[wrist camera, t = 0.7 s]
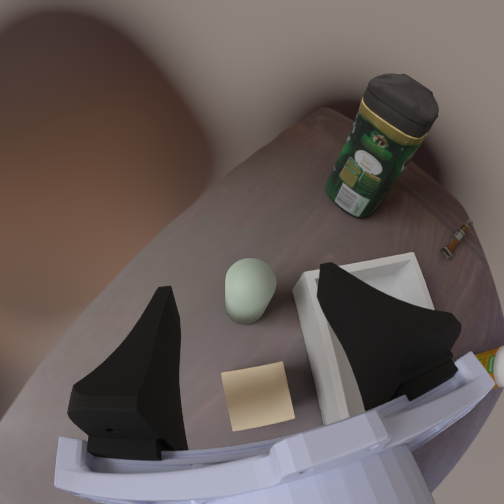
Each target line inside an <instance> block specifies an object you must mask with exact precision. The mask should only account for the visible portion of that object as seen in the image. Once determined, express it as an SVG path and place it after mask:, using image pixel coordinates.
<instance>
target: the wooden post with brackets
mask: <svg viewBox="0 0 504 504" xmlns="http://www.w3.org/2000/svg"><path fill="white" fill-rule="evenodd" d="M472 224H473V223H472V219H468V220H467V221H466V223H465V224H464V225H461V226H460V227H459V228H458V229H457V230H458V231H456V232H455V233H454V235H453V236H452V239H451V240H452V242H451V243H450V244H449V245H448V246H447V247H445V248H443V249H441V250H442V252H443V253H444V254H445V255H446V257H447V259H449V258H451V257H452V256H453V255H452V251H453V249H454V248H455V246H456V244H457V243H458V242H459V241H460V240H461V238H462V237H463V236H464V235H465V232H466V231H467V230H468V229H469V228H470V226H471V225H472Z"/></svg>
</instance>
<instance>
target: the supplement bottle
mask: <svg viewBox="0 0 504 504" xmlns="http://www.w3.org/2000/svg"><path fill="white" fill-rule="evenodd" d="M475 356H476V358H477V359H478V360H479V361H480V363H481V364H482V365H483V367H484V368H485V369H486V371H487V372H488V373H489V375H490V376H491V378H492V379H493V380H494V382H495V386H494V387H493V388H492V389H497V388H502V387H504V346H500V347H497V348H494V349H491V350H488V351H485V352H482V353H479V354H475Z"/></svg>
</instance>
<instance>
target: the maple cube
mask: <svg viewBox="0 0 504 504" xmlns="http://www.w3.org/2000/svg"><path fill="white" fill-rule="evenodd" d="M221 376H222V381H223V386H224V391H225V396H226V401H227V406H228V411H229V415H230V420H231V425H232V429H233V431H239V430H244V429H250V428H255V427H260V426H265V425H270V424H274V423H278V422H283V421H287V420H291V419H295V415H294V411H293V406H292V402H291V397H290V393H289V388H288V383H287V379H286V374H285V370H284V365H283V361H282V362H278V363H273V364H268V365H263V366H258V367H252V368H247V369H241V370H235V371H229V372H223V373H221Z"/></svg>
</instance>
